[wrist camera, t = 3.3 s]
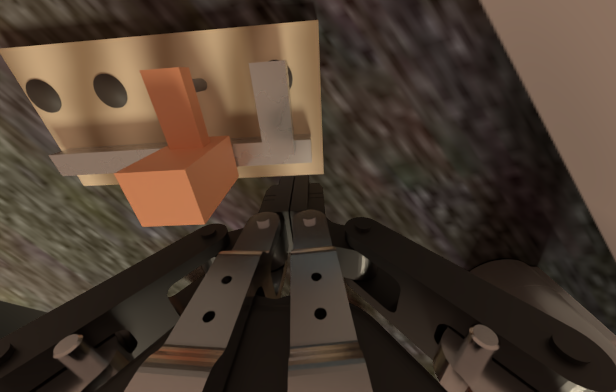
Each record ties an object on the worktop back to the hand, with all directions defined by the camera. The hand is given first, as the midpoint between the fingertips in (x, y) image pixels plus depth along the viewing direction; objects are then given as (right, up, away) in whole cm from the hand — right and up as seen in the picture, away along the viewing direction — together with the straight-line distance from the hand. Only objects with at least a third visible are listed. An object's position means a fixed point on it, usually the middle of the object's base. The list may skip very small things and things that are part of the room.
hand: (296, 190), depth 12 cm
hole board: (-11, +7, +8) cm, 15 cm away
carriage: (-8, +6, +7) cm, 12 cm away
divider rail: (-11, +6, +7) cm, 14 cm away
